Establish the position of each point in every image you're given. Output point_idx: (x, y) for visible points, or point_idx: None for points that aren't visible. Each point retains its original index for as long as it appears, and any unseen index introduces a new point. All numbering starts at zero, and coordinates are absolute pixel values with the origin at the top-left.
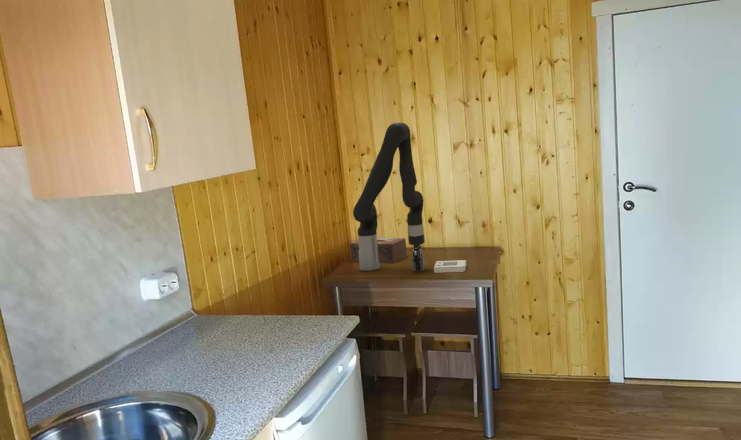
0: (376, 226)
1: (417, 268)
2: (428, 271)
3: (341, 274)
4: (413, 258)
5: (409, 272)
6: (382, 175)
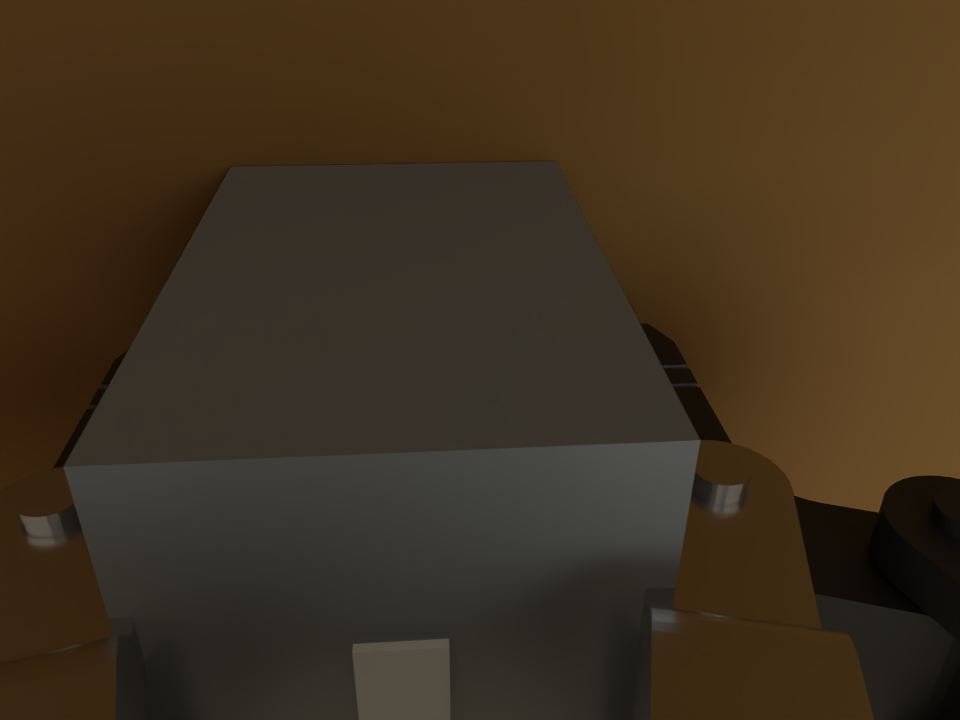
0: None
1: None
2: None
3: None
4: (225, 523)
5: (44, 39)
6: None
